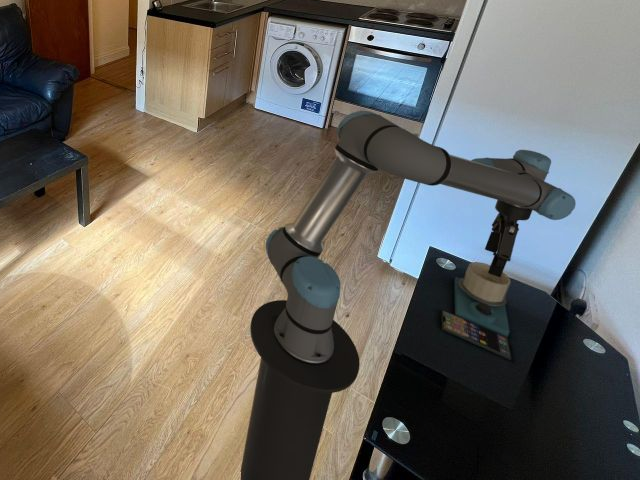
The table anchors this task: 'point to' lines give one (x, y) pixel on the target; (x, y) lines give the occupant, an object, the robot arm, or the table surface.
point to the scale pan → (495, 304)
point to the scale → (468, 311)
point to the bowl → (485, 282)
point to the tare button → (484, 308)
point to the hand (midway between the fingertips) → (492, 262)
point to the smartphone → (476, 334)
